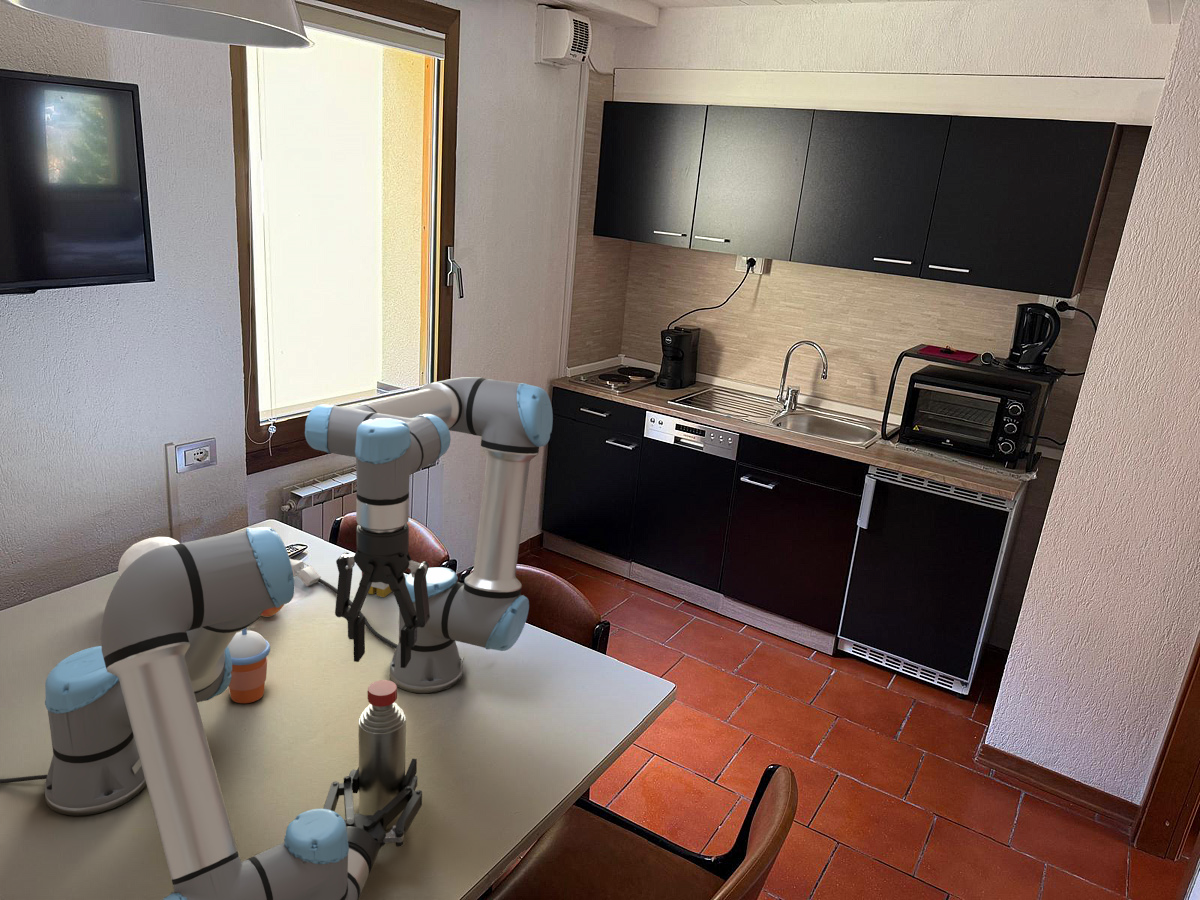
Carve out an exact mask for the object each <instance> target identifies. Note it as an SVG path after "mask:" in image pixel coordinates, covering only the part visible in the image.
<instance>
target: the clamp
mask: <svg viewBox="0 0 1200 900" xmlns="http://www.w3.org/2000/svg"><path fill="white" fill-rule="evenodd" d="M289 559H290V562H291V566H292V571H293V577H294V578H296V577H298V578H299V579H300V580H301V582H303V584H304V585H305V587H309V586H312V585H314V584H316V583H319V582H318V580H319V579H321V578H322V577H321V575H320V574H319V573H318V572H317V570H315V569H314V568H313V566H312V565H310V564H309V565H308V564H307V563H305V562H304V561H303V560H301V559H300V560H299V559H292V558H289ZM305 566H306V567H305Z"/></svg>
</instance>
